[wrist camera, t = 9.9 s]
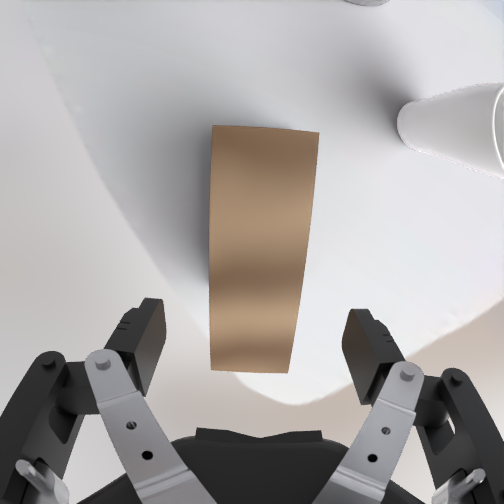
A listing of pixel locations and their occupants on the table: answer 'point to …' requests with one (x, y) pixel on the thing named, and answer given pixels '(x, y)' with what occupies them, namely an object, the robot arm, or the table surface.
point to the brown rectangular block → (258, 243)
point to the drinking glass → (459, 127)
